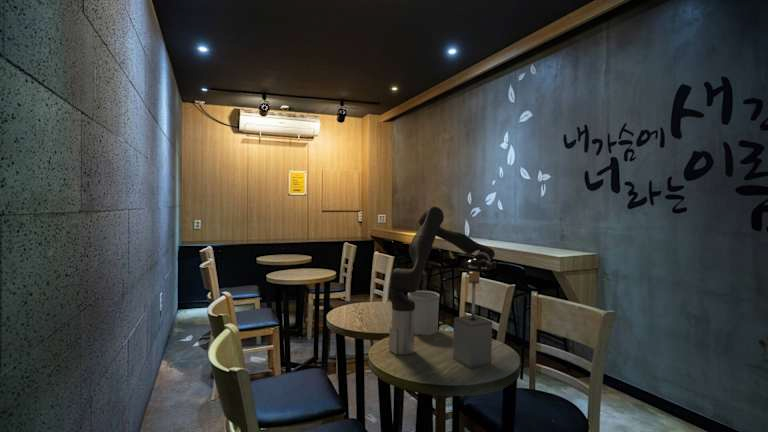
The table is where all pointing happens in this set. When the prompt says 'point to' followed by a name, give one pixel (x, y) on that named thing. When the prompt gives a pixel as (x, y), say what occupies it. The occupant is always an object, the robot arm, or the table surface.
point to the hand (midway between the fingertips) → (477, 266)
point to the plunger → (473, 289)
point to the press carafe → (472, 341)
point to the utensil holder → (425, 311)
